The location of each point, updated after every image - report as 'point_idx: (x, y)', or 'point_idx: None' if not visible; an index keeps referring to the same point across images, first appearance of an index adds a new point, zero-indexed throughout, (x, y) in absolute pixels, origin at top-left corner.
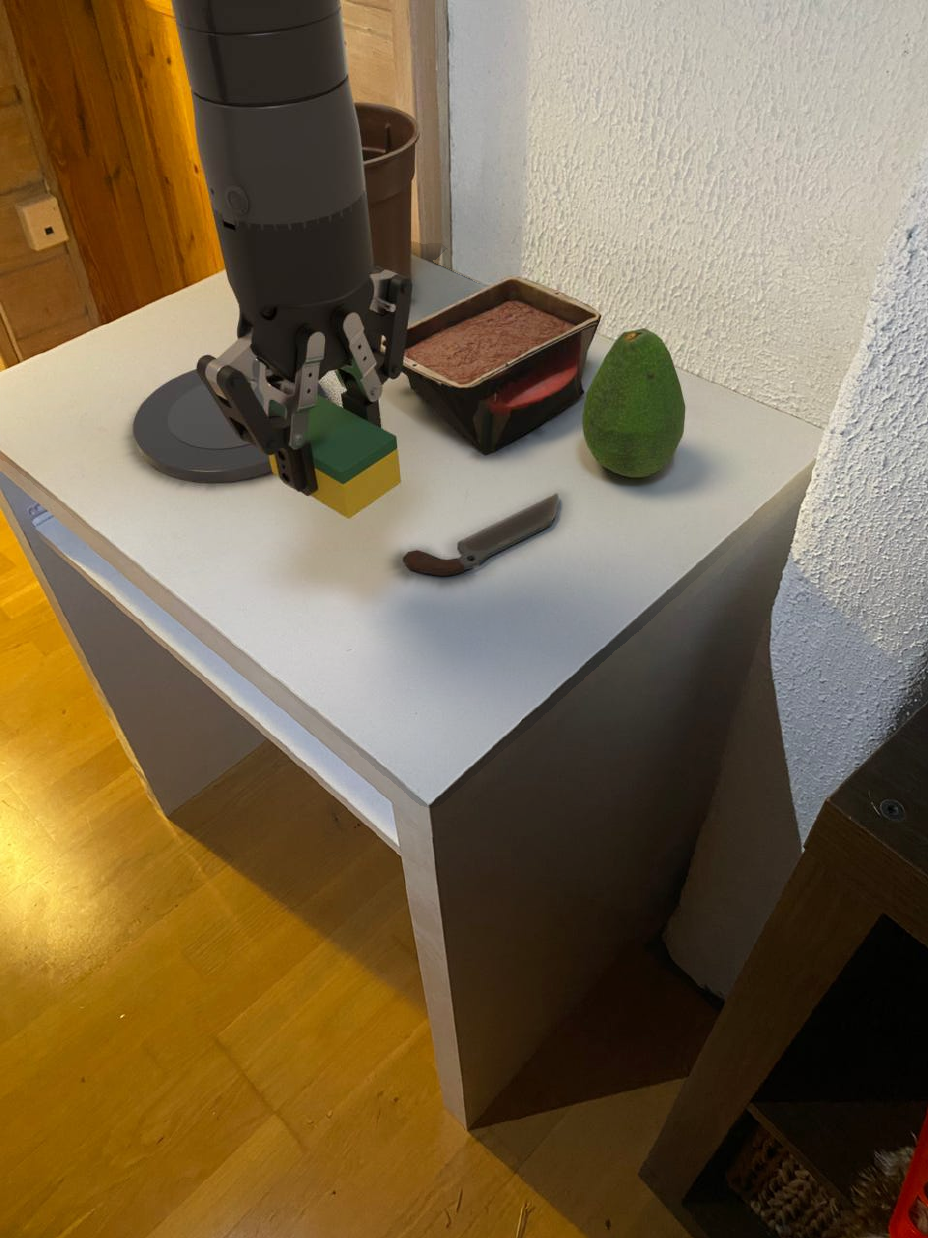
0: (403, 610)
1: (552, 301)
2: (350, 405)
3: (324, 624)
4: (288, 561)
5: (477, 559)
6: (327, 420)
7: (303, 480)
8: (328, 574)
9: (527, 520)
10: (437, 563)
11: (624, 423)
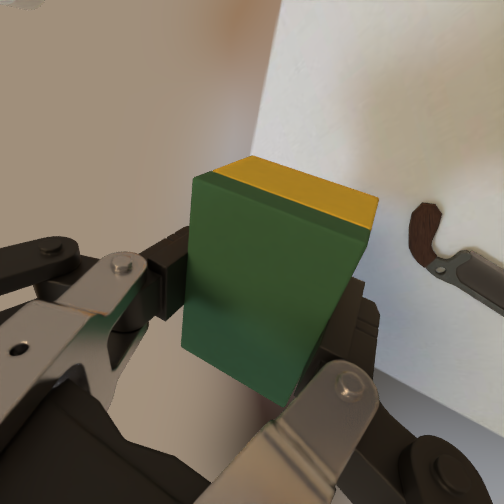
0: None
1: None
2: (314, 351)
3: (311, 163)
4: (390, 60)
5: (440, 277)
6: (272, 301)
7: None
8: (381, 126)
9: None
10: (420, 243)
11: None
